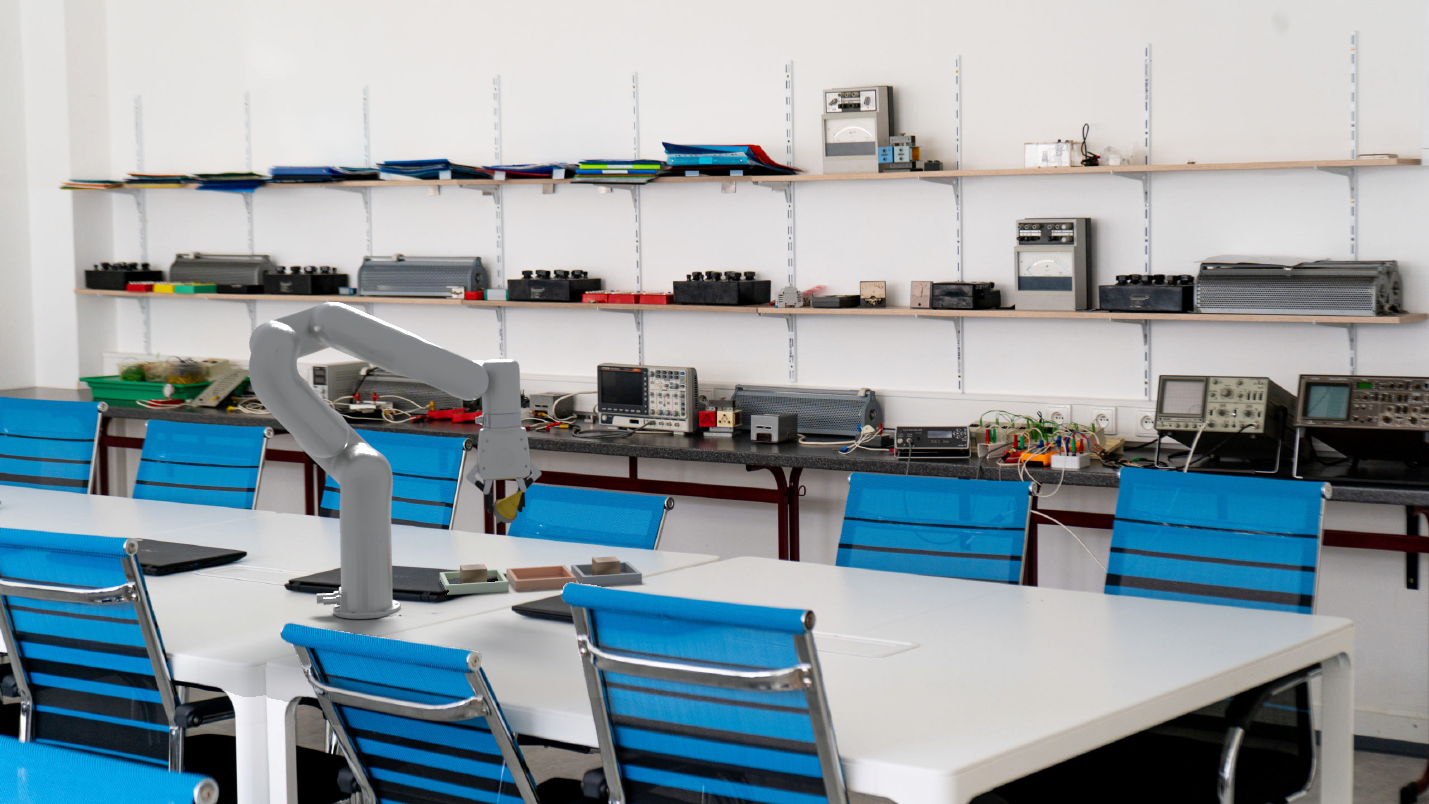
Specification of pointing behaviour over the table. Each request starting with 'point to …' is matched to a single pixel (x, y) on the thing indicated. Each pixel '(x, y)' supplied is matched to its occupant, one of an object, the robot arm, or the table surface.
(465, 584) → the sage tray
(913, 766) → the table surface
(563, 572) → the terracotta dish
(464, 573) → the walnut block
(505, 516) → the mustard yellow cone
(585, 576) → the grey tray
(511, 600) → the table surface
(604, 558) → the walnut block
